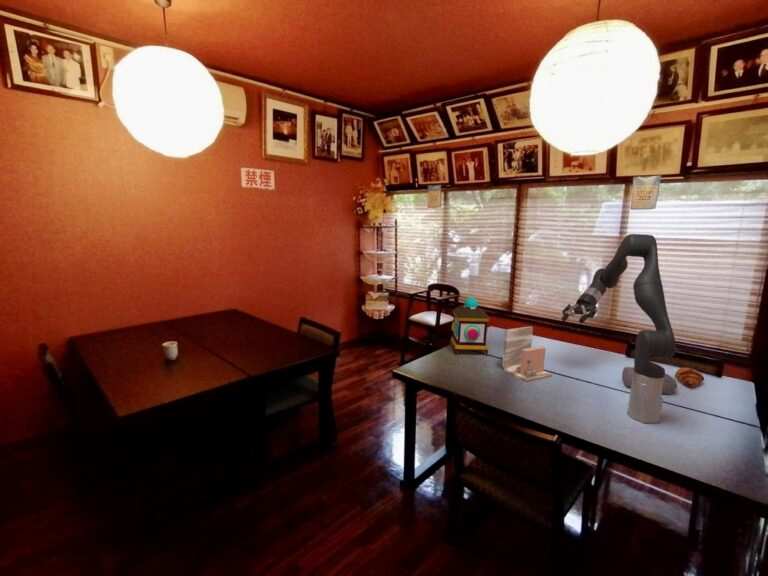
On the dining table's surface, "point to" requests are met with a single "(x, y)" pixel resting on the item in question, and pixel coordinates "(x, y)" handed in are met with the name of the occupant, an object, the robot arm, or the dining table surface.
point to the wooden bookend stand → (519, 353)
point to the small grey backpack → (668, 383)
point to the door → (532, 359)
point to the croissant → (689, 377)
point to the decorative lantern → (469, 327)
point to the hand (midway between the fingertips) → (571, 321)
